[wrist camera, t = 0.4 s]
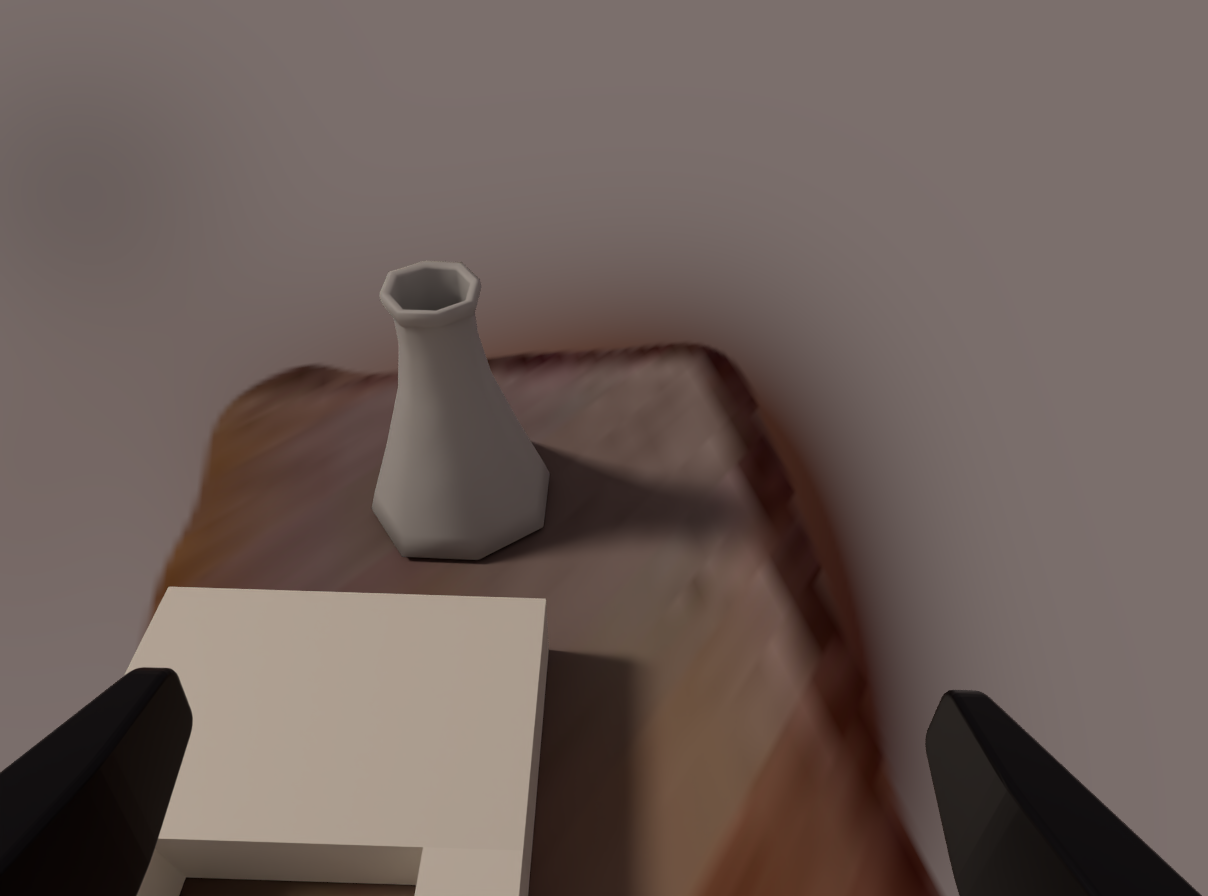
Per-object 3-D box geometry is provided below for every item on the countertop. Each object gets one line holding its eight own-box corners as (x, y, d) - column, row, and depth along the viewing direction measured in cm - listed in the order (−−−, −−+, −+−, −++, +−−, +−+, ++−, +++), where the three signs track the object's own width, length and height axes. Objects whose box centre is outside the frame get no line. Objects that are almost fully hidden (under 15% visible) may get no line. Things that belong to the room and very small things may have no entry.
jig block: (489, 1356, 16) (475, 1371, 14) (-108, 1335, 16) (-215, 1348, 14) (548, 649, 27) (546, 598, 25) (200, 637, 27) (168, 586, 25)
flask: (531, 421, 35) (518, 216, 28) (571, 544, 31) (569, 334, 24) (365, 451, 34) (308, 243, 27) (380, 585, 29) (316, 374, 22)
